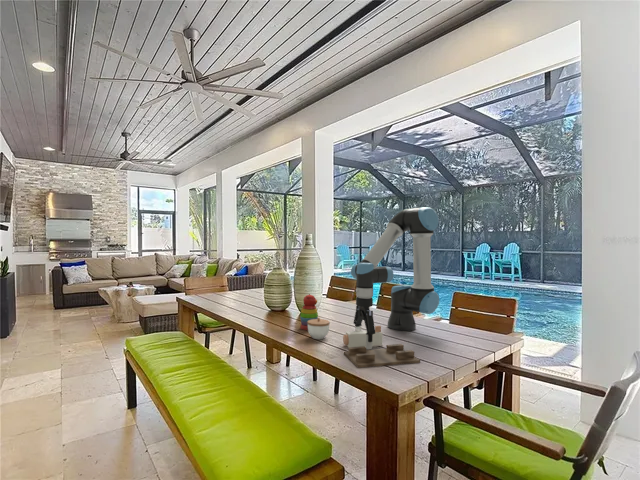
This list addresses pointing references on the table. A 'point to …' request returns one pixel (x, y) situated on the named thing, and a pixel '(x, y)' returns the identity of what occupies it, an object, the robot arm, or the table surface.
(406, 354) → the cradle
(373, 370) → the table surface
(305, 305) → the stacking bear
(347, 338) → the block
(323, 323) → the lidded jar
